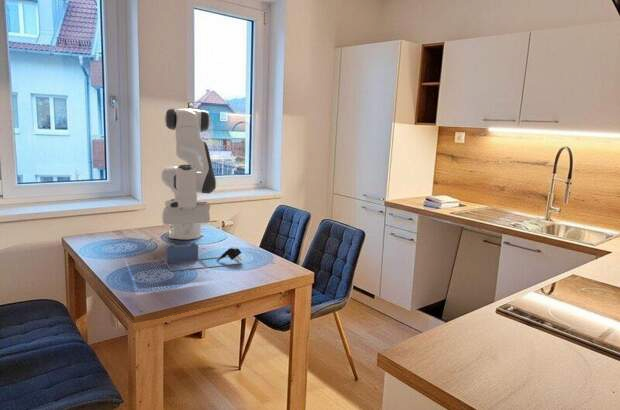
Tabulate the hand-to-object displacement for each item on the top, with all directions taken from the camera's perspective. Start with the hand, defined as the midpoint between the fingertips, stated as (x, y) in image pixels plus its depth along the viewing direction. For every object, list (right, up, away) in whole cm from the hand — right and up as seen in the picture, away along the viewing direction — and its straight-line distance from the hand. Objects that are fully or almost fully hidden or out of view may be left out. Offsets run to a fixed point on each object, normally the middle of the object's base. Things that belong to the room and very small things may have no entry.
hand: (186, 233), depth 196 cm
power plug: (+13, -16, +10) cm, 23 cm away
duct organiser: (+7, -14, +6) cm, 17 cm away
